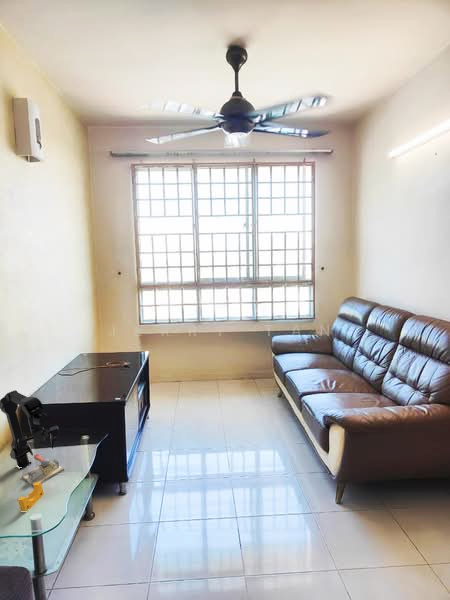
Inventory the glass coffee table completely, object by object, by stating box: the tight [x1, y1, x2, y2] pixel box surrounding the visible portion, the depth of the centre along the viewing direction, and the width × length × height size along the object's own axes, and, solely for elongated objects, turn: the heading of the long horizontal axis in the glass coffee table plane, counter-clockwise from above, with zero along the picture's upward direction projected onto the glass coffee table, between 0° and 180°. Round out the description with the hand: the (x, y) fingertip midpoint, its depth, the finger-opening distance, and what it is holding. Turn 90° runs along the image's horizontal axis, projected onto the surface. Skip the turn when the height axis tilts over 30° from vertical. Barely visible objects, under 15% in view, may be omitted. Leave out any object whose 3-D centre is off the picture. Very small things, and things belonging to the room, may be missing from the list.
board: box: [21, 459, 65, 486], centre depth 196 cm, size 16×15×1 cm
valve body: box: [27, 458, 60, 482], centre depth 194 cm, size 6×14×4 cm, turn 139°
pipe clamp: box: [17, 482, 45, 512], centre depth 172 cm, size 12×4×6 cm, turn 169°
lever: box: [33, 453, 50, 467], centre depth 197 cm, size 14×4×2 cm, turn 49°
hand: (42, 451), depth 191 cm, fingers open, 9 cm apart
